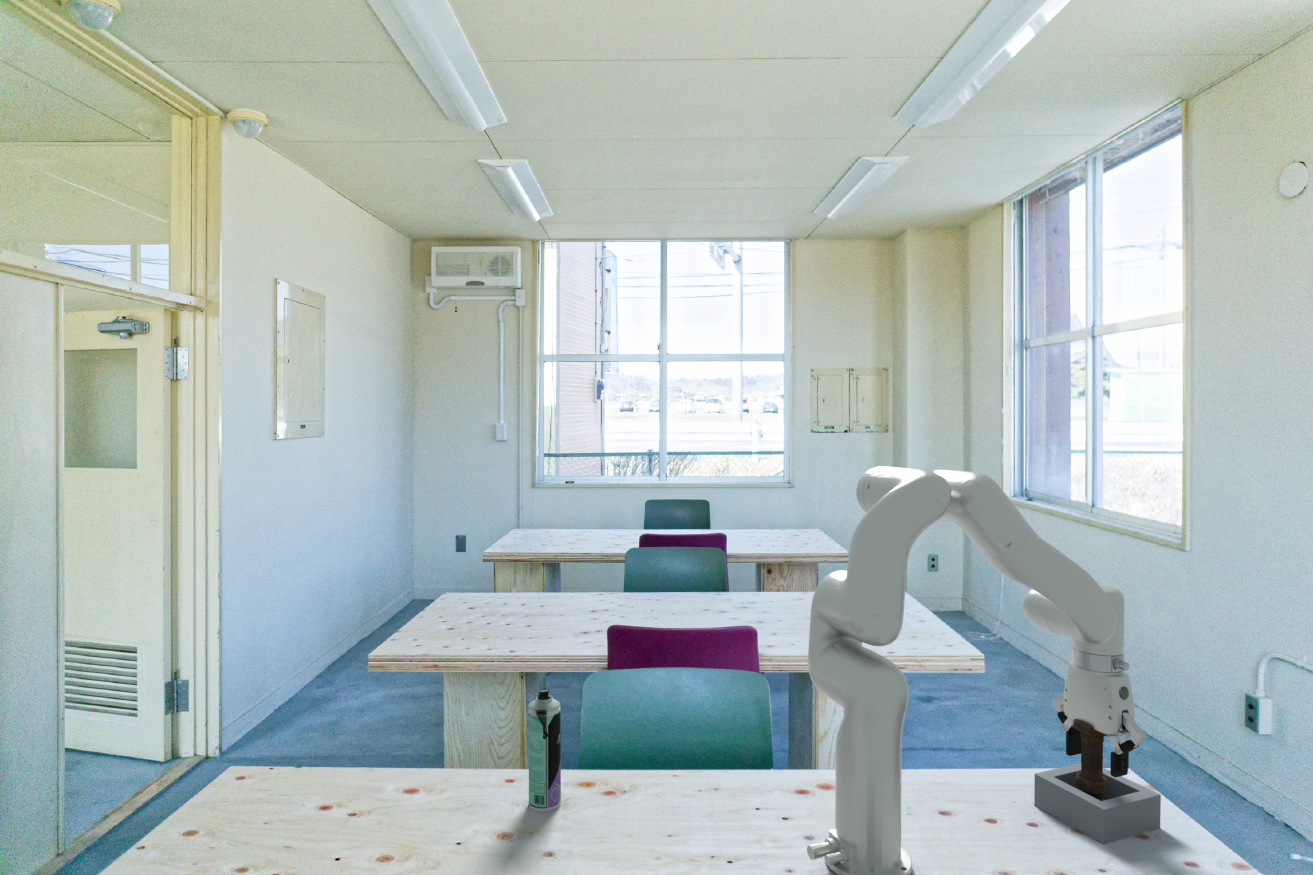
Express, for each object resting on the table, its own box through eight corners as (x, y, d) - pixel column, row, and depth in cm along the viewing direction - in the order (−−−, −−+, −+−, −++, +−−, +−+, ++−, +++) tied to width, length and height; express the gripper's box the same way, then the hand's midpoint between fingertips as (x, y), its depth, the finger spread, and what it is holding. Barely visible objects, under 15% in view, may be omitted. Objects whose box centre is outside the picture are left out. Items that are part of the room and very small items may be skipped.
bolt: (1104, 803, 129) (1105, 716, 129) (1116, 818, 124) (1117, 727, 124) (1067, 799, 131) (1068, 713, 130) (1077, 814, 126) (1078, 724, 125)
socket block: (1103, 844, 119) (1103, 809, 118) (1034, 805, 131) (1034, 773, 131) (1160, 827, 123) (1160, 794, 123) (1088, 791, 135) (1088, 761, 135)
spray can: (564, 809, 129) (563, 693, 129) (532, 815, 127) (532, 697, 127) (556, 794, 135) (556, 682, 134) (525, 800, 133) (525, 686, 132)
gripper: (1164, 673, 120) (1162, 783, 120) (1068, 643, 136) (1067, 740, 136) (1130, 679, 117) (1129, 792, 117) (1037, 648, 133) (1036, 747, 134)
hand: (1095, 763), depth 127 cm, fingers open, 7 cm apart
